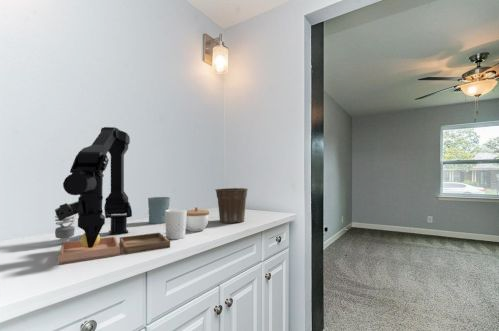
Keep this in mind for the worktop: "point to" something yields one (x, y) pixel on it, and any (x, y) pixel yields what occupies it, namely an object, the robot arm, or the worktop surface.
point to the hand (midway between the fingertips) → (90, 245)
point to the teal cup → (158, 209)
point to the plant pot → (231, 204)
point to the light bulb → (65, 229)
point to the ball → (84, 241)
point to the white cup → (175, 223)
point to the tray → (143, 243)
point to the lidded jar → (197, 219)
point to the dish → (88, 251)
